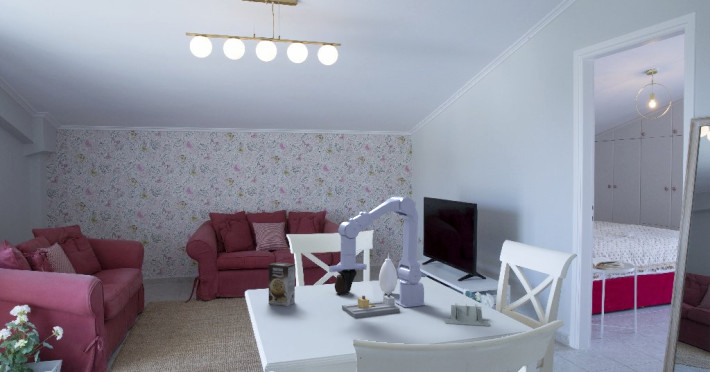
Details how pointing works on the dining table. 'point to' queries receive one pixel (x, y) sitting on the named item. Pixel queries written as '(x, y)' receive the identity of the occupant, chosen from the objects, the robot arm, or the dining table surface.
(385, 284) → the white air blower bulb
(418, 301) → the robot arm
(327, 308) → the dining table surface
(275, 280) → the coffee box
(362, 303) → the slider
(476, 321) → the metal bracket
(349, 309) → the gauge plate
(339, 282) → the mate gourd
